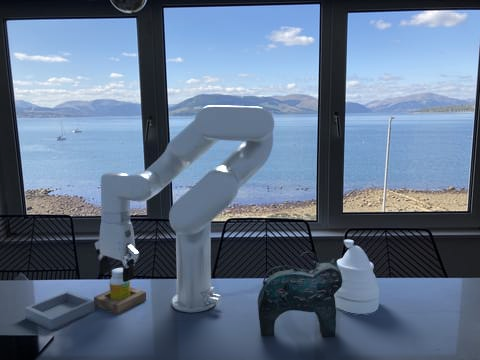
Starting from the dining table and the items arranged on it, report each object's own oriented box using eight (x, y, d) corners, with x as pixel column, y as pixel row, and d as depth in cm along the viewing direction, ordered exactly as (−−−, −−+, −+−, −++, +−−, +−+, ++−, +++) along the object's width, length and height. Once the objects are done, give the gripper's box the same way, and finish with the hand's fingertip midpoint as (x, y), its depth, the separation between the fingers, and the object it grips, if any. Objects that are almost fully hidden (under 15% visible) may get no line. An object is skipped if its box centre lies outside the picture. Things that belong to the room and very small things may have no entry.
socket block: (146, 300, 103) (145, 291, 103) (118, 314, 94) (117, 305, 94) (122, 292, 108) (122, 284, 108) (94, 305, 100) (93, 297, 99)
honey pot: (327, 309, 97) (329, 245, 95) (333, 291, 109) (335, 233, 107) (378, 318, 92) (380, 250, 90) (378, 297, 104) (381, 237, 102)
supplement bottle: (124, 308, 98) (122, 274, 97) (106, 306, 99) (105, 272, 98) (134, 299, 103) (132, 267, 102) (117, 298, 104) (115, 266, 103)
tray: (94, 311, 96) (94, 300, 96) (51, 331, 86) (51, 319, 86) (68, 300, 103) (67, 290, 102) (25, 318, 93) (24, 307, 92)
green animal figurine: (337, 326, 88) (339, 248, 86) (345, 341, 82) (347, 256, 79) (257, 326, 88) (257, 248, 86) (258, 341, 82) (258, 257, 79)
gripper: (148, 219, 97) (148, 279, 99) (106, 210, 106) (107, 266, 108) (126, 224, 91) (126, 288, 93) (84, 215, 100) (85, 273, 102)
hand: (116, 276), depth 100 cm, fingers open, 9 cm apart
